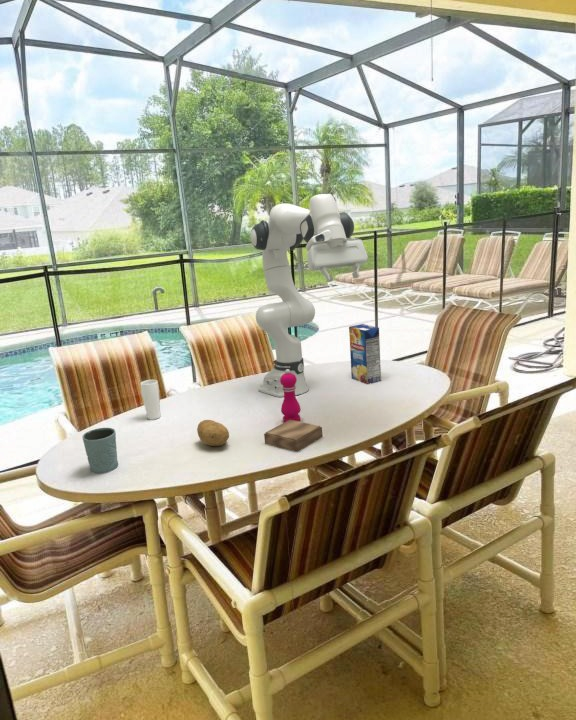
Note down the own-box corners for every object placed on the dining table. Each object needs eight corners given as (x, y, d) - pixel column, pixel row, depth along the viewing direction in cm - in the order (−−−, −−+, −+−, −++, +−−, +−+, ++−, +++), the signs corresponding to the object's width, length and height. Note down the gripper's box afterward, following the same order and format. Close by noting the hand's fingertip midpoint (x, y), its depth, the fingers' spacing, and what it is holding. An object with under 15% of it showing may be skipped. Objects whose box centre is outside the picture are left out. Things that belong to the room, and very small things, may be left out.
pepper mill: (299, 424, 204) (295, 371, 199) (280, 424, 205) (275, 372, 200) (302, 417, 210) (299, 366, 205) (284, 417, 212) (279, 366, 207)
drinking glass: (166, 415, 225) (161, 379, 221) (155, 421, 219) (150, 385, 215) (152, 414, 227) (147, 378, 224) (142, 420, 222) (136, 384, 218)
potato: (213, 455, 184) (210, 432, 182) (192, 443, 194) (189, 422, 192) (238, 445, 189) (235, 423, 187) (216, 435, 200) (213, 414, 198)
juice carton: (351, 378, 253) (348, 326, 247) (365, 375, 256) (362, 323, 250) (367, 384, 242) (364, 330, 236) (381, 380, 246) (379, 327, 240)
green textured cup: (100, 460, 187) (94, 426, 184) (127, 461, 184) (121, 427, 181) (82, 474, 177) (75, 439, 174) (109, 476, 174) (103, 440, 171)
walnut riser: (265, 443, 189) (263, 432, 188) (290, 429, 200) (289, 419, 199) (297, 452, 181) (296, 440, 179) (322, 436, 191) (321, 425, 190)
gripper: (357, 241, 188) (367, 279, 185) (301, 246, 181) (311, 286, 178) (364, 232, 182) (376, 271, 179) (307, 238, 175) (318, 279, 172)
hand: (343, 279), depth 179 cm, fingers open, 8 cm apart
